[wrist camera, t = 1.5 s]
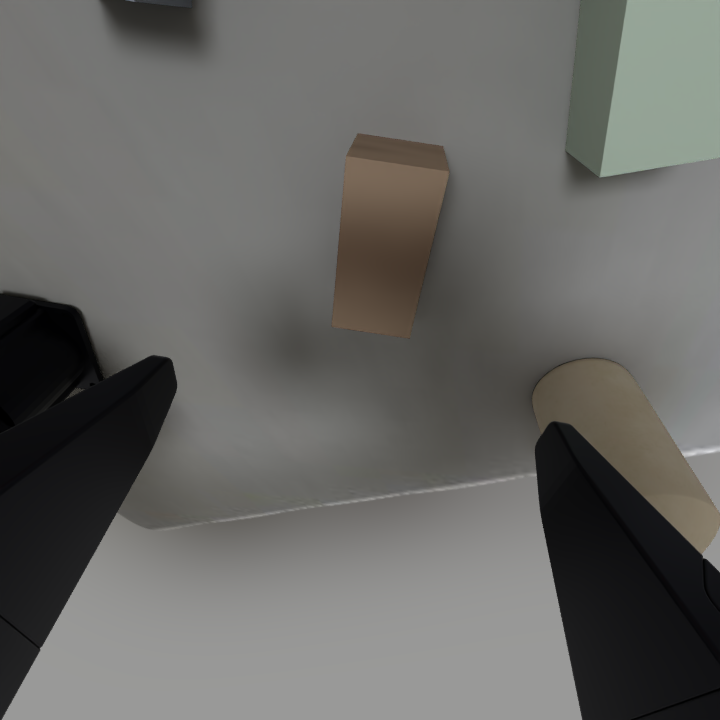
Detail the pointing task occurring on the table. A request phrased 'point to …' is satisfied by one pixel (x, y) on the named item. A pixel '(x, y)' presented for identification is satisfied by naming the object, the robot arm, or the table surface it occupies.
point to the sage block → (645, 85)
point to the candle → (628, 440)
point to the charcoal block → (168, 2)
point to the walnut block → (386, 232)
